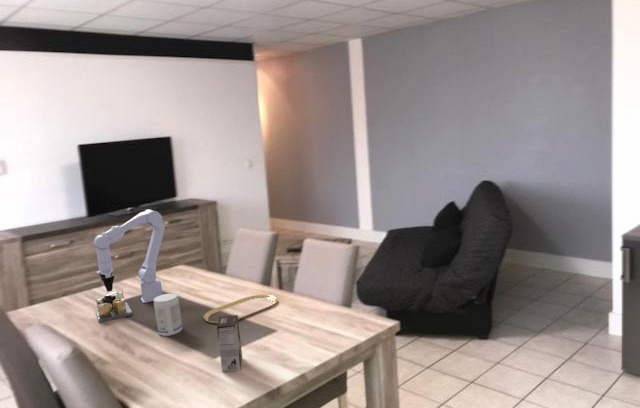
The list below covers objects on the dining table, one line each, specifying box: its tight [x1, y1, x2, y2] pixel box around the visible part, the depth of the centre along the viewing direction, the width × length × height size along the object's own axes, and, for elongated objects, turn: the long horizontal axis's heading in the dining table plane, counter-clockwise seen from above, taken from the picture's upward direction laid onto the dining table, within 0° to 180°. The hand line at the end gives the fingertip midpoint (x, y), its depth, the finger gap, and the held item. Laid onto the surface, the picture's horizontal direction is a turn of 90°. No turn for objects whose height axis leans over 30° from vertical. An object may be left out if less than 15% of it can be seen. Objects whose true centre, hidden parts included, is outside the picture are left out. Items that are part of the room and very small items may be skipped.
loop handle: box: [203, 294, 278, 325], centre depth 225 cm, size 19×35×2 cm, turn 134°
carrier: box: [94, 301, 133, 323], centre depth 233 cm, size 14×16×7 cm
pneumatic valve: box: [95, 291, 125, 307], centre depth 244 cm, size 6×12×12 cm
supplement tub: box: [153, 293, 183, 337], centre depth 205 cm, size 10×10×15 cm
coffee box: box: [216, 314, 243, 373], centre depth 171 cm, size 9×6×16 cm
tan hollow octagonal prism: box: [112, 298, 126, 313], centre depth 232 cm, size 5×5×5 cm
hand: (108, 289), depth 238 cm, fingers open, 7 cm apart
